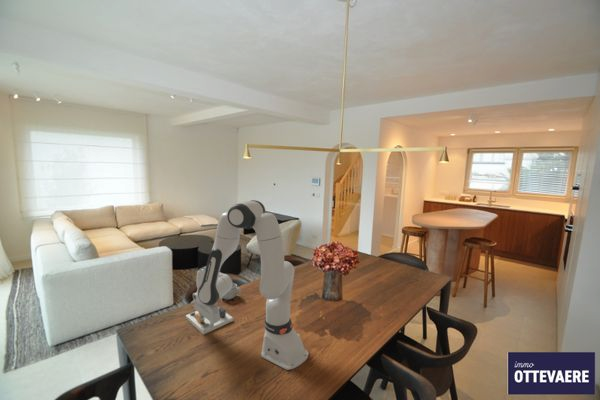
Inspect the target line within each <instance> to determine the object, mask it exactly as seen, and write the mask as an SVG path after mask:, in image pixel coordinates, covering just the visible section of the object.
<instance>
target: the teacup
mask: <svg viewBox="0 0 600 400" xmlns="http://www.w3.org/2000/svg"><path fill="white" fill-rule="evenodd" d="M241 291H242V288H241V287H239V286H238V284H237V283H235V282H233V287H232V289H231V290H230V291H229V292H228V293H226V294H225V295H224V296H223V297H221V298H222V299H223V300H225V301H226V300H232V299H234V298H235V297H237V296H238V295H240V294H241Z"/></svg>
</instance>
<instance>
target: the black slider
mask: <svg viewBox="0 0 600 400" xmlns="http://www.w3.org/2000/svg"><path fill="white" fill-rule="evenodd" d="M226 311H227V310H226V309H225V308H224V307H222V306H221V307H219V314H220V317H221V318H222V317H224V316H226V313H227V312H226Z"/></svg>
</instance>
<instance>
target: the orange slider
mask: <svg viewBox="0 0 600 400" xmlns="http://www.w3.org/2000/svg"><path fill="white" fill-rule="evenodd" d="M196 320H197V321H198V322H199V323H201V322H203V321H204V320H203V321H202V320H200V315H199V313H196Z"/></svg>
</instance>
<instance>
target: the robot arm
mask: <svg viewBox="0 0 600 400" xmlns="http://www.w3.org/2000/svg"><path fill="white" fill-rule="evenodd" d="M242 229H246V230H251V229H253V230H254V231H255V235H256V240H257V241H256V242H257V246H258V251H259V255H260V256H259V257H260V281H259V285H258V289H259V292H260V295H261V296H262V297H263V298H264V299H266V301H265V317H264V333H263V334H264V335H263V339H262V340H263V342H262V346H261V352H260V357H261V358H262V359H265V360H267V361H268V362H271V363H273V364H275V365H276V366H278V367H280V368H282V369H284V370H287V371H289V370H293V369H295V368H297V367H299V366H300V365H302V364H304V362H306V360H307V359H308V358H309V351H308V350H307V349H306V348H305V347H304V344H303V343H304V342H303V340H302V339H301V335H300V333H298V332H296V330H295V329H294V327H295V323H294V322H292V319H291V317H290V316H291V299H292V293H293V292H292V291H293V285H294V277H295V271H296V270H295V267H294V265H293V264H292V263H291V262H289V261H288V260H287V261H286V260H285V254H286V250H285V245H284V241H283V236H282V231H281V228H280V224H279V222H278V219H277V217H276V215H275V214H273V213H271V212H266V208H265V205H264V204H263V203H262V202H261V201H258V200H255V199H254V200H252V199H251V200H245V201H241V202H239V203H235V204H234V205H232V206H231V207H230V208H229V209H228V211H225V212H223V213H221V215H220V217H219V218H218V222H217V226H216V232H215V237H214V241H213V246H212V248H211V250H210V253H209V255H208V258H207V262H206V265H205V266H202V267H201V268H199V269H197V272H196V287H197V290H196V292H193V293H192V299H193V307H194V309H195V311H198V312H199V315H200V320H202V321H203V320H204V319H205V318H207V319H208V320H209V321H210V324H209V327H210V328H213V327H214V323H216V322H218V321H219V320H220V314H219V308H220V307H219V306H218V305H217V304H216V303H218V301H219V300H220V299H221V298H222V297H223V296H224V295H225V294H226V293H228V292H229V291H230V290H231V289H232V287H233V283H234V282H233V278H232V277H231V276H230V275H229V274H227V273H223V272H221V268H222V266H223V264H224V262H225V261H226V260H227V259H228V258H229V257H230V256H232V254H234V252H236V250H237V249H238V246H239V244H240V243H239V242H240V238H241V231H242ZM218 307H219V308H218Z"/></svg>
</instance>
